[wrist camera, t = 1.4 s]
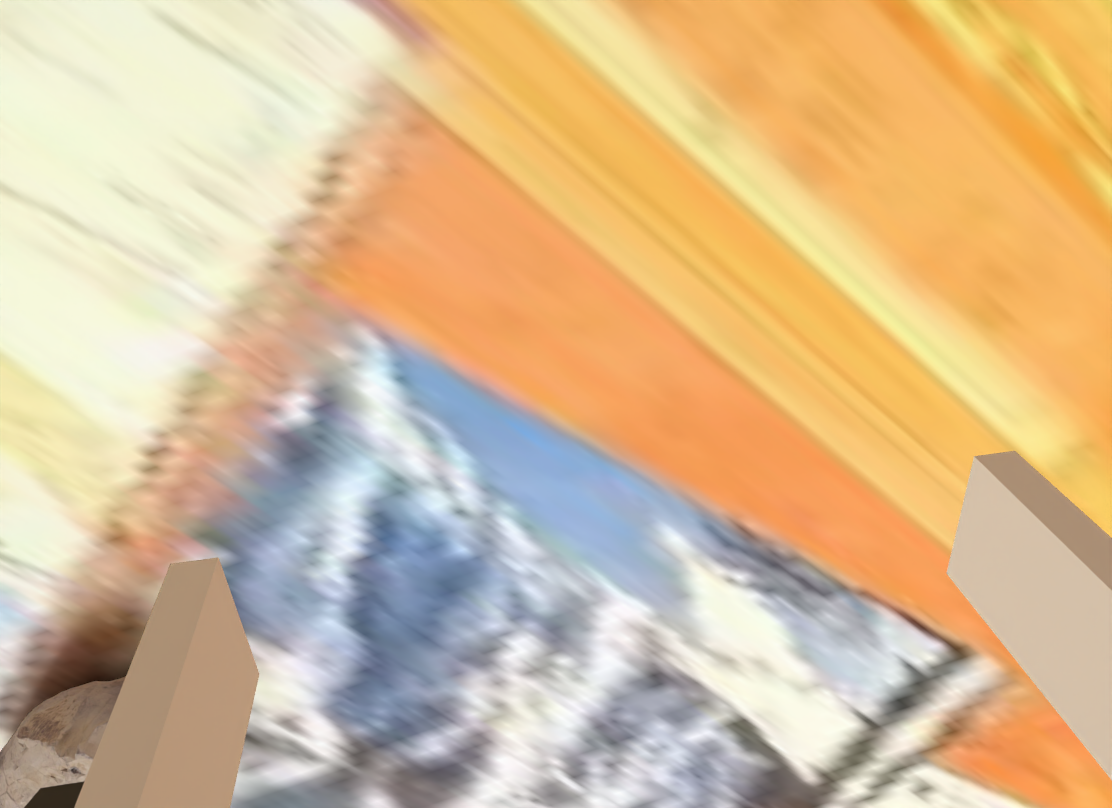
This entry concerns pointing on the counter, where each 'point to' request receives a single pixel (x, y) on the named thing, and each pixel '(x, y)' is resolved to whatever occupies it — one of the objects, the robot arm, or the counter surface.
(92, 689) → the stone
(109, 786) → the robot arm
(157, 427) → the counter surface
